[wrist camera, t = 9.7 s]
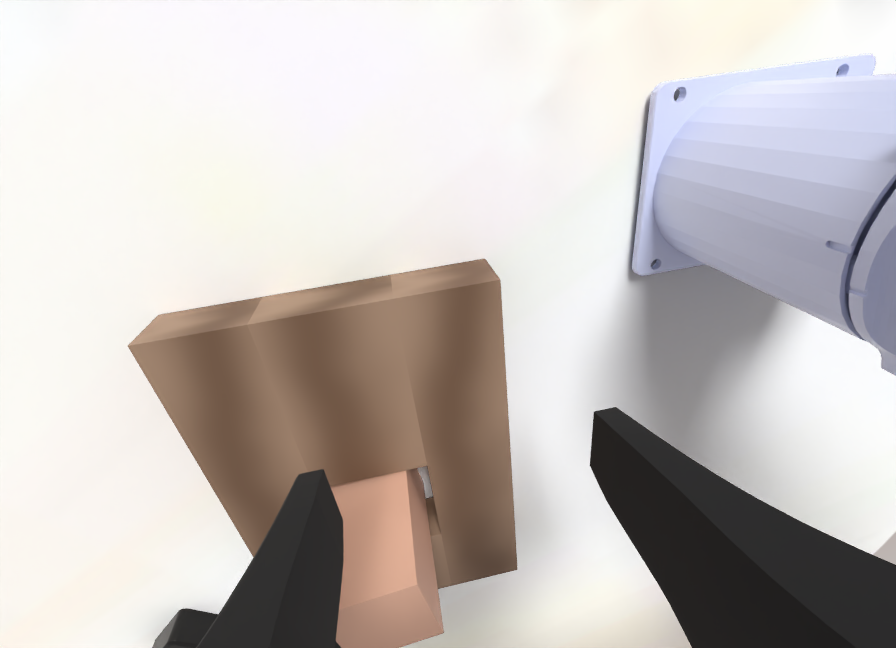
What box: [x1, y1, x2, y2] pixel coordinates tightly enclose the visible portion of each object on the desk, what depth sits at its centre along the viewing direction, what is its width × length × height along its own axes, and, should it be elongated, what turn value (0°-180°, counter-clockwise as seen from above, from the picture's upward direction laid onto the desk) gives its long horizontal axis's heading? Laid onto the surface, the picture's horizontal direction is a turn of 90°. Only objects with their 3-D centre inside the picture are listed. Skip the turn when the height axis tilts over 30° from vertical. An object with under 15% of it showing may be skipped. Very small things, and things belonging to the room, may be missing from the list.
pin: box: [331, 468, 444, 648], centre depth 20 cm, size 4×4×8 cm
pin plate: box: [128, 259, 517, 589], centre depth 22 cm, size 14×20×2 cm
